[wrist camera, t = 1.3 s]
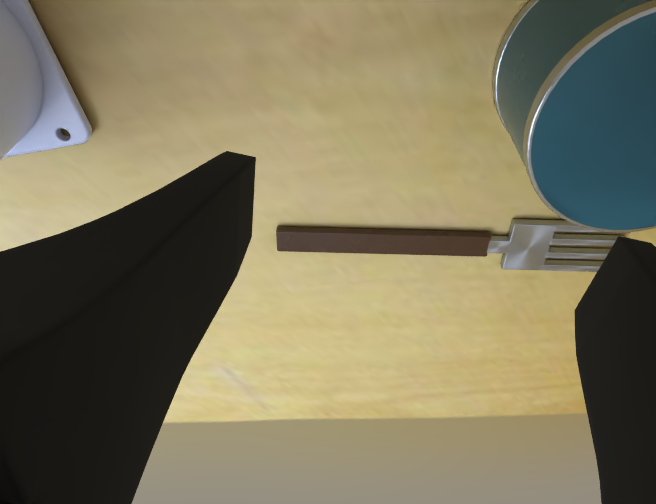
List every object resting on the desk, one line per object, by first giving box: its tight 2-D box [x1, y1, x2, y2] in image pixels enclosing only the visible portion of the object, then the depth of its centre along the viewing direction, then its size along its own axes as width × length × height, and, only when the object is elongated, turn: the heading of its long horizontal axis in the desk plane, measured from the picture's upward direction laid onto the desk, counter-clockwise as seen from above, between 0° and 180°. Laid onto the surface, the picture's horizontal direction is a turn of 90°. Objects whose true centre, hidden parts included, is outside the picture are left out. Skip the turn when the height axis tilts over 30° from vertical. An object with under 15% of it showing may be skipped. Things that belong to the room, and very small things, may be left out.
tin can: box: [492, 0, 656, 232], centre depth 18 cm, size 7×7×5 cm
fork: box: [276, 219, 630, 272], centre depth 25 cm, size 15×2×1 cm, turn 89°
